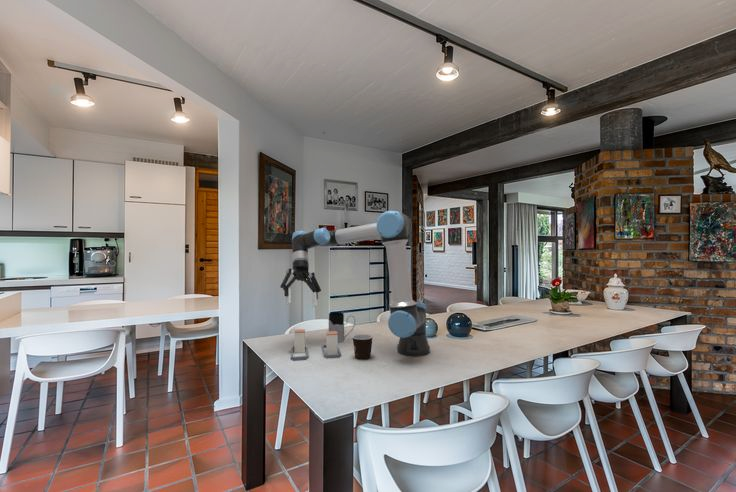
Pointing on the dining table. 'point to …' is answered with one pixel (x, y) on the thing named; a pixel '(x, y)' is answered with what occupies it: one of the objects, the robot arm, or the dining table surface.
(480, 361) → the dining table surface
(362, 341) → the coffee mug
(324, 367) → the dining table surface
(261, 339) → the dining table surface
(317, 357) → the dining table surface
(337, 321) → the grey pitcher
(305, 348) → the grey double base frame
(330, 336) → the tab
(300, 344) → the tab
